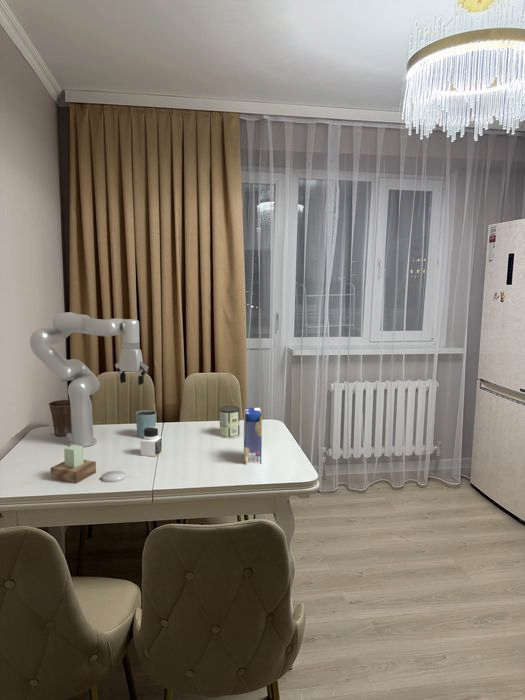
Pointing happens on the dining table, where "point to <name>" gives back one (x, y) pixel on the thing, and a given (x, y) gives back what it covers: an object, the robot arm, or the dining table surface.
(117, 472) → the white domed disc
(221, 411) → the coffee can
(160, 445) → the medicine bottle
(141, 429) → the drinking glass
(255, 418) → the beverage box
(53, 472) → the walnut block
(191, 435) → the dining table surface
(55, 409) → the plant pot
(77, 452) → the sage block
